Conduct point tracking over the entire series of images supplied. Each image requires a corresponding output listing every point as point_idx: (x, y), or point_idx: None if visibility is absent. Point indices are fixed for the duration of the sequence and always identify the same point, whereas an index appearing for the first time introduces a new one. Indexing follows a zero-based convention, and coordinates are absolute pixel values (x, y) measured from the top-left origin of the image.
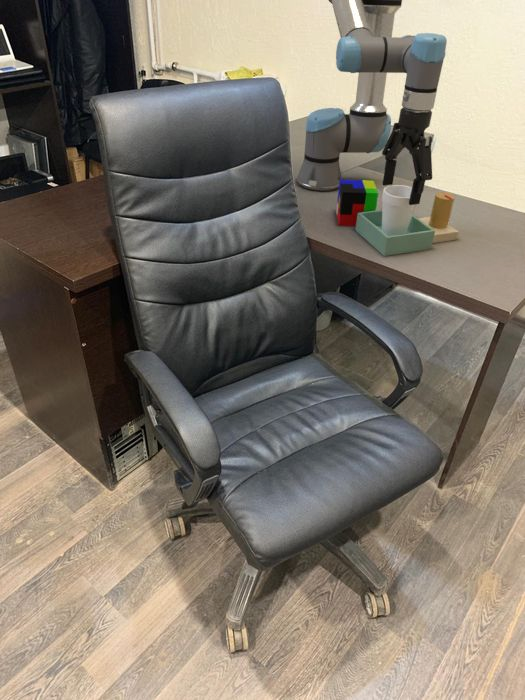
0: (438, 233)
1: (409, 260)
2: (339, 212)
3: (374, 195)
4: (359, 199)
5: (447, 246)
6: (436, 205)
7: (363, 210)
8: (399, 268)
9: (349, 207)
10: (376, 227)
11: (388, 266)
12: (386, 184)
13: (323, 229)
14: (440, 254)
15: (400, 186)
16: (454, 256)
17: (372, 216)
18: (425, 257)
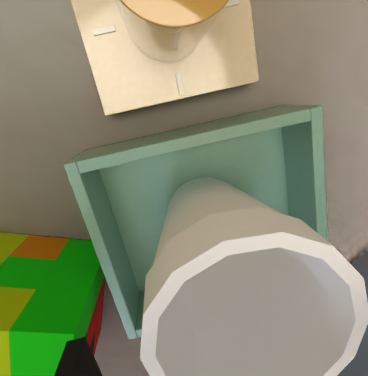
0: (249, 56)
1: (334, 196)
2: None
3: (76, 337)
4: None
5: (278, 32)
6: (194, 36)
7: (92, 312)
8: (364, 234)
9: None
10: None
11: (347, 256)
12: (98, 374)
13: (126, 363)
14: (325, 87)
15: (158, 318)
16: (349, 41)
17: (123, 280)
18: (330, 144)
